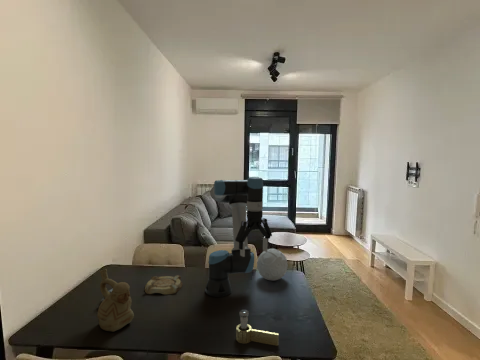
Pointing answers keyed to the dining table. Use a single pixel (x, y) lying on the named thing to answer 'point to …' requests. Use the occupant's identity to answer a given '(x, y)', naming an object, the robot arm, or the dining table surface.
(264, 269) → the decorative sphere
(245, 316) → the pin
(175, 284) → the ashtray
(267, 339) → the hinge
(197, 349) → the dining table surface
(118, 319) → the ceramic vessel
